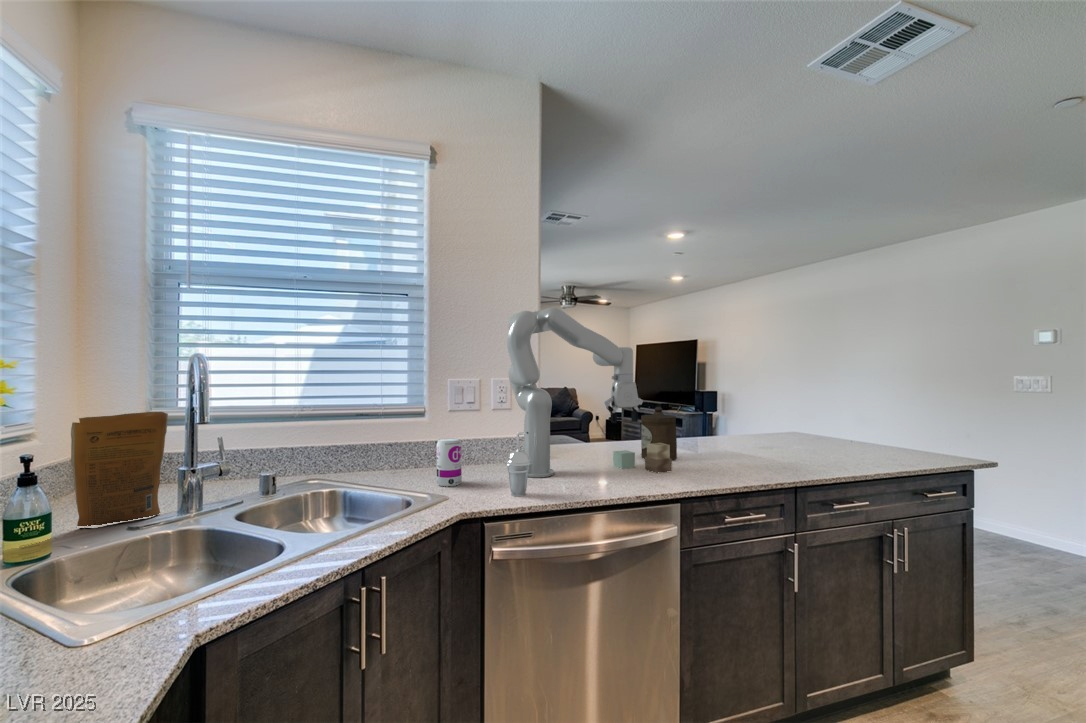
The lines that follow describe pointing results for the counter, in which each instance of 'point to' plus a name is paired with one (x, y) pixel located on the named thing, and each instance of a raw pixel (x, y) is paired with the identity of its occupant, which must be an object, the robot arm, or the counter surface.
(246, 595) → the counter surface
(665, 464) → the walnut base block
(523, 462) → the cup with straw
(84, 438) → the pancake mix bag
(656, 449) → the oak upper block
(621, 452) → the sage cube
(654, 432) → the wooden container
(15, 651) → the counter surface
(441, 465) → the supplement can
